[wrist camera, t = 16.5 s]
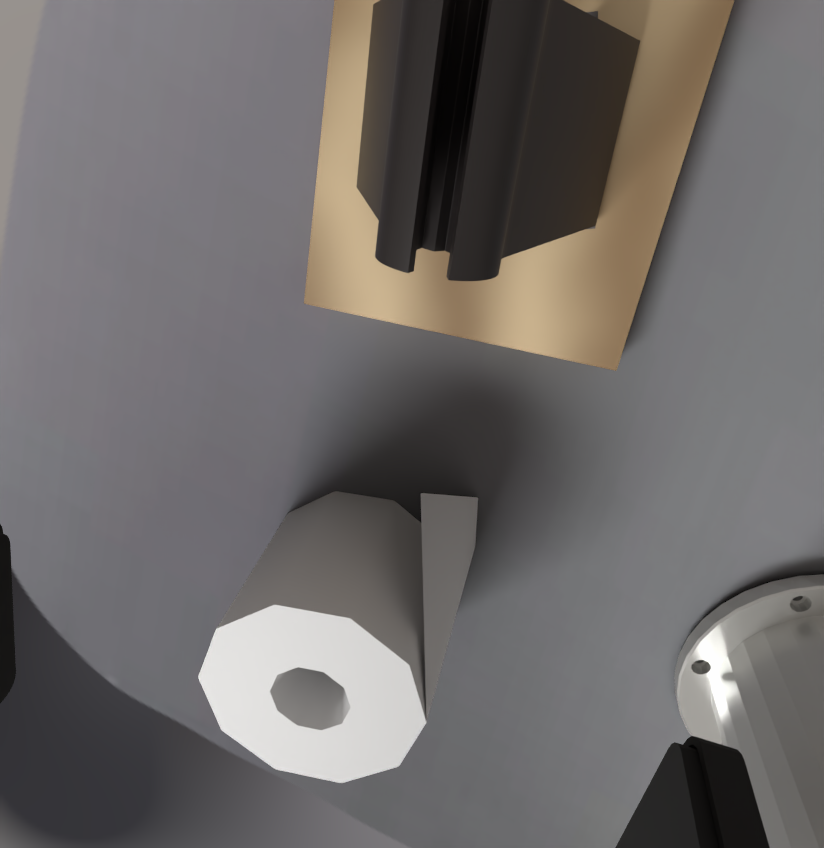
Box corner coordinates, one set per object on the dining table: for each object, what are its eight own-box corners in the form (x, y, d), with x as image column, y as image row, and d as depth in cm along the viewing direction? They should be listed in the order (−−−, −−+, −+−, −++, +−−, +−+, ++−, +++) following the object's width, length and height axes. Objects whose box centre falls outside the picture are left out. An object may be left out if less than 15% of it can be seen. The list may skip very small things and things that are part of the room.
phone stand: (640, 42, 23) (723, -8, 12) (594, 225, 26) (631, 314, 15) (376, 3, 24) (241, -74, 13) (357, 185, 27) (233, 243, 16)
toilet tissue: (514, 478, 32) (505, 597, 24) (405, 667, 38) (370, 811, 30) (334, 396, 32) (268, 490, 24) (253, 599, 38) (179, 726, 30)
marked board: (774, -149, 22) (786, -162, 20) (613, 360, 29) (616, 371, 28) (366, -211, 23) (357, -227, 22) (312, 296, 30) (303, 303, 29)
